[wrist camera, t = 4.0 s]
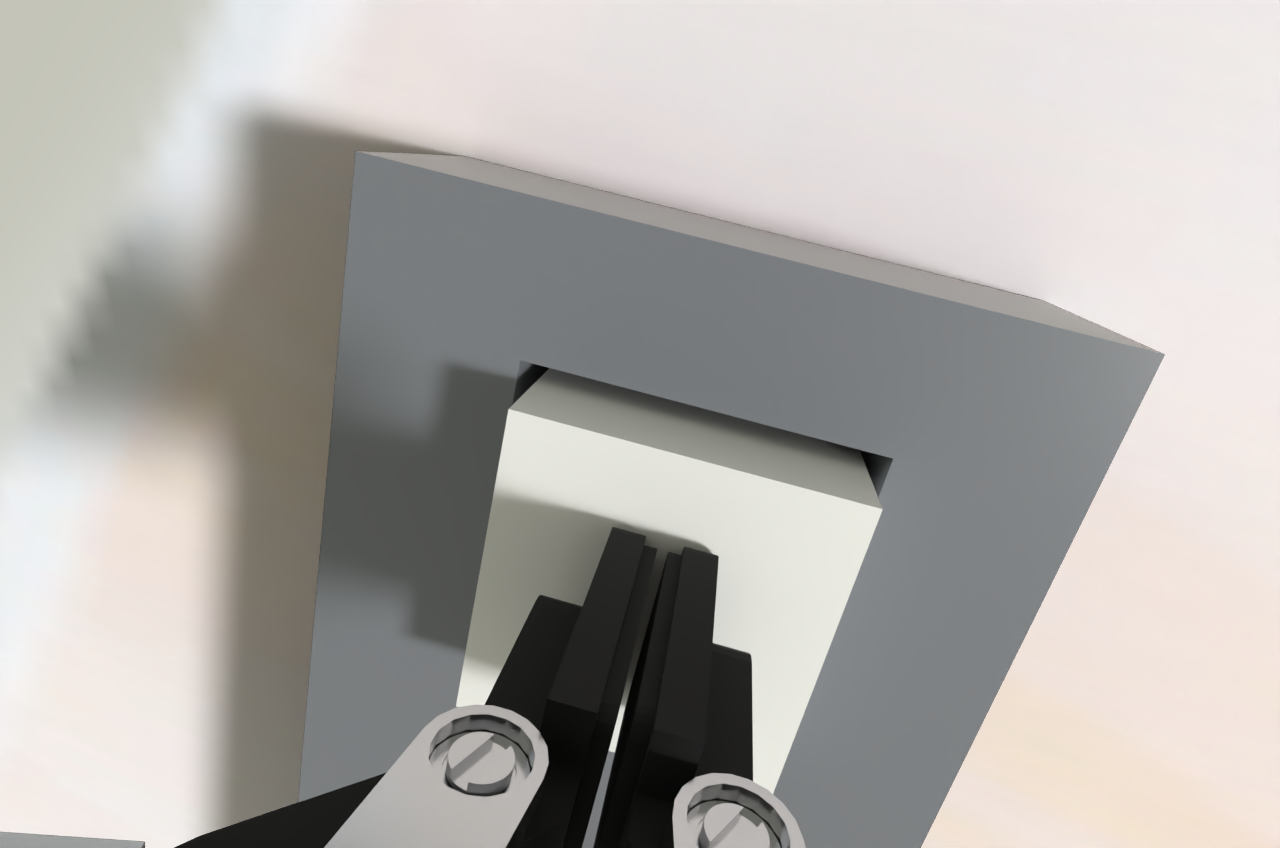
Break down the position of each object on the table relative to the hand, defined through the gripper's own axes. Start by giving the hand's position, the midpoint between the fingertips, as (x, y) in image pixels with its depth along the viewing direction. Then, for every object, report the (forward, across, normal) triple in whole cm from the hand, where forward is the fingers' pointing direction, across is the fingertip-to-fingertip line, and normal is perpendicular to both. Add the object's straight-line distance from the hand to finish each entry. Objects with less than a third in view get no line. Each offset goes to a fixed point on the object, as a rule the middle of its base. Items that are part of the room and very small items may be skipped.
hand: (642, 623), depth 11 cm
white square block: (+4, 0, 0) cm, 4 cm away
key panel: (+6, 0, +5) cm, 8 cm away
